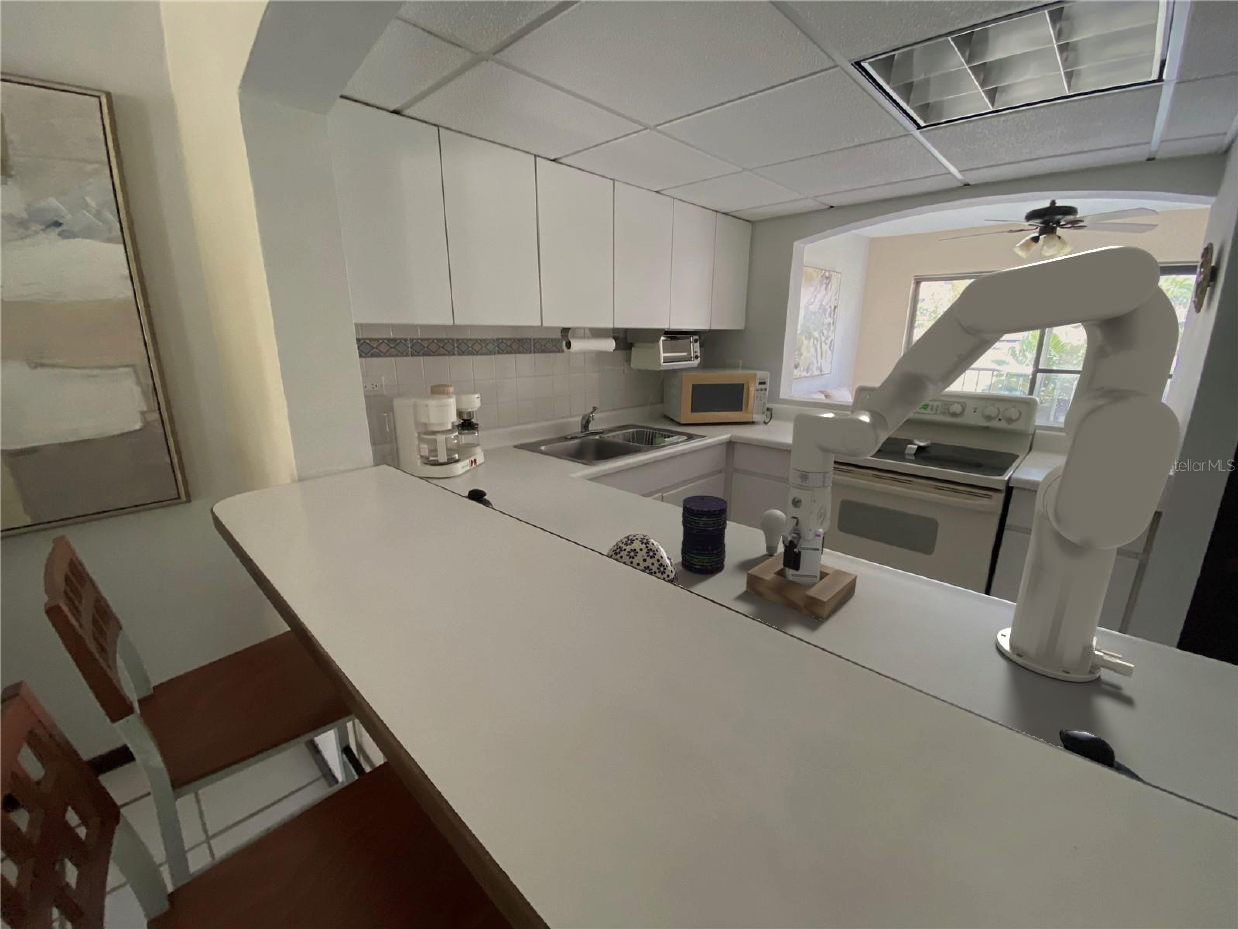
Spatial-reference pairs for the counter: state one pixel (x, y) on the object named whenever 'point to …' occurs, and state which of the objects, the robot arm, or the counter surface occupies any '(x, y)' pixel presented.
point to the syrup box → (808, 561)
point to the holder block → (802, 588)
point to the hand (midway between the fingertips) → (803, 560)
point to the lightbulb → (772, 529)
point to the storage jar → (704, 534)
